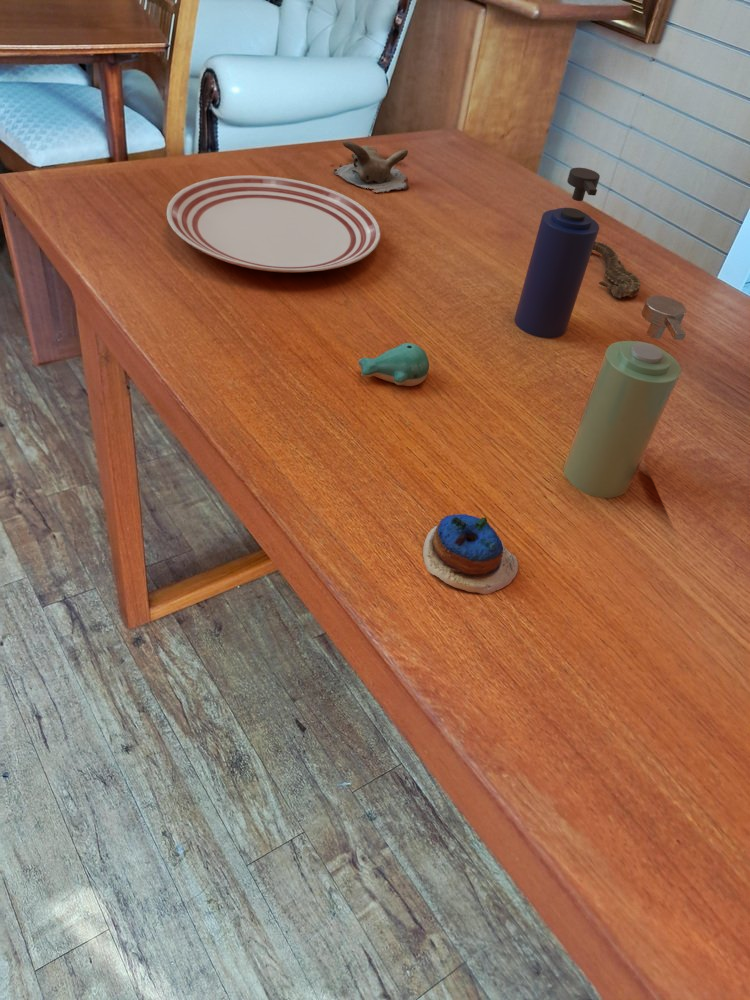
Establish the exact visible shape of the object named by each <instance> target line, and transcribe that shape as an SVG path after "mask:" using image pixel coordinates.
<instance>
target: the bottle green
mask: <svg viewBox="0 0 750 1000" xmlns="http://www.w3.org/2000/svg"><path fill="white" fill-rule="evenodd" d="M681 369H682V368H681V366H680V364H679V362H678V361H677V359H675V357H674V356H673V355H671V354H670V353H668V352H667V351H666V350H664V349H663V348H661V347H659V346H657V345H655V344H653V343H649V342H645V341H640V340H620V341H616V342H613V343H611V344H610V345H609V346H608V347H607V348H606V350H605V352H604V355H603V358H602V360H601V363H600V366H599V370H598V372H597V373H596V377H595V380H594V382H593V385H592V388H591V390H590V392H589V393H590V394H589V395H588V399H587V401H586V404H585V407H584V409H583V412H582V414H581V418H580V420H579V423H578V426H577V428H576V431H575V434H574V436H573V438H572V441H571V444H570V447H569V450H568V453H567V455H566V458H565V460H564V463H563V466H562V467H563V468H562V469H563V474H564V477H565V478H566V480H567V481H568V482H569V483H570V484H571V485H572V486H573V487H574V488H576V489H577V490H578V491H580V492H582V493H584V494H586V495H589V496H592V497H595V498H600V499H614V498H619V497H621V496H623V495H624V494H626V493H627V492H628V490H629V489H630V486H631V484H632V482H633V480H634V477H635V475H636V472H637V471H638V468H639V466H640V464H641V462H642V460H643V458H644V455H645V453H646V451H647V450H648V447H649V445H650V442H651V440H652V438H653V436H654V433H655V431H656V429H657V427H658V424H659V422H660V420H661V418H662V416H663V414H664V411H665V410H666V407H667V404H668V403H669V400H670V398H671V396H672V393H673V392H674V389H675V387H676V385H677V383H678V380H679V378H680V376H681V374H682V373H681V372H682V370H681Z"/></svg>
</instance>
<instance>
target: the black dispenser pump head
mask: <svg viewBox="0 0 750 1000" xmlns="http://www.w3.org/2000/svg"><path fill="white" fill-rule="evenodd" d="M600 178H601V176H600V174H599V173H598V172H597V171H595V170H592V169H590V168H586V167H572V168H571V169H570V170H569V173H568V177H567V180H566V181H567V184H568V185H569V186H571V187H573V188H574V190H573V192H572V197H571V199H572V200H573V201H576V202H583V201H584V198H585V195H586V194H587V195H588V196H595V197H596V195H597V192H598V189H597V188H598V184H599V181H600Z"/></svg>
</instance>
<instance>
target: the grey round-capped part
mask: <svg viewBox="0 0 750 1000" xmlns="http://www.w3.org/2000/svg"><path fill="white" fill-rule="evenodd" d="M686 312H687V309H686V306H685V305H684V304H683V303H681V302H680V301H679V300H676V299H674V298H673V297H672V298H671V297H668V296H664V295H651V296H649V297H647V298H646V300H645V303H644V305H643V308H642V310H641V316H642V318H643V319H644V320H645V321H646V322H648V323H649V325H648V326H649V327H648V329H647V331H646V335H647V337H649V338H651V339H654V340H660V339H661V338H662V336H663V334H664V332H665V329H667V331H668V332H669V334H670V336H671V337H672V339H673V340H675V341H676V340H677V341H684V340H685V338H686V336H687V335H686V332H685V330H684V329H683V326H682V325H681V324H682V322H683V320H684V318H685V315H686Z"/></svg>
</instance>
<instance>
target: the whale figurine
mask: <svg viewBox="0 0 750 1000" xmlns="http://www.w3.org/2000/svg"><path fill="white" fill-rule="evenodd" d="M357 364H358V366H359V367H360V369H361V371H360V374H361V376H362V377H364V378H371V377H376V378H378V379H380V380H382V381H385V382H388V383H392V384H395V385H397V386H404V387H414V386H418V385H420V384H421V383H423V382H424V381H425V380H426V379H427V376H428V373H429V369H430V361H429V357H428V355H427V353H426V352H425V350H424V349H423V348H422V347H420V346H419V345H417V344H415V343H412V342H405V343H402V344H401V343H400V344H399V345H398V346H397V345H396V346H395V347H393V348H390V349H388V350H386V351H384V352H382V353H381V354H380V355H378V356H376V357H375V358H371V357H362V358H360V359H358V362H357Z"/></svg>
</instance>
